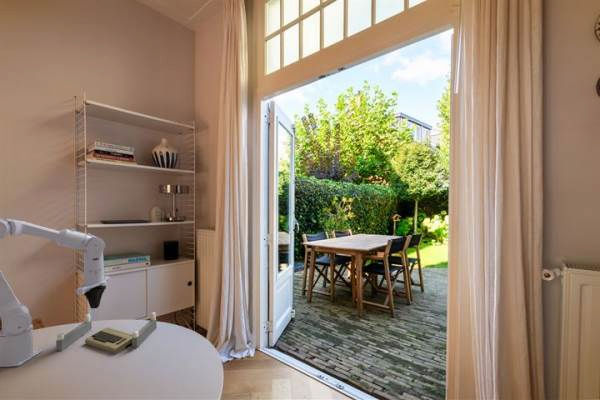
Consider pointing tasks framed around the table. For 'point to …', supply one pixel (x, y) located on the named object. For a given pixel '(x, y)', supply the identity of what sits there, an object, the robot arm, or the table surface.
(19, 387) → the table surface
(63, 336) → the dock
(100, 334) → the computer
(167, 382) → the table surface
